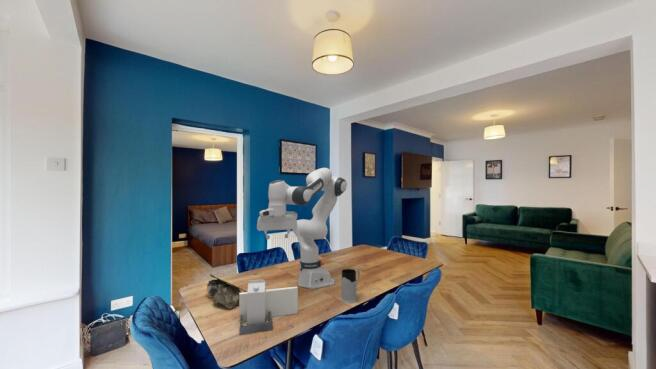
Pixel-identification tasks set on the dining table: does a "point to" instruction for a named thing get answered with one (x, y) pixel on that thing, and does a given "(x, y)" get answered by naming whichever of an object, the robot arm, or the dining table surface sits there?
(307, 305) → the dining table surface
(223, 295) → the hollow geode rock
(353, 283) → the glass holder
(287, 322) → the dining table surface
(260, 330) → the cleat bracket
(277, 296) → the wall board
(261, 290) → the milk carton
